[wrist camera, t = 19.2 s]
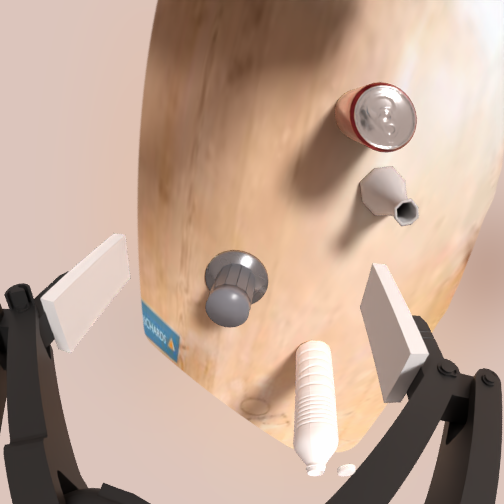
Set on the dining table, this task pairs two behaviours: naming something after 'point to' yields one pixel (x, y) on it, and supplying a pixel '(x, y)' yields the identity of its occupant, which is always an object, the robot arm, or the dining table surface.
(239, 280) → the grey domed cylinder
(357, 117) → the soda can
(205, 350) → the dining table surface
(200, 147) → the dining table surface
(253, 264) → the round base
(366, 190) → the flask
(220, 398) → the dining table surface
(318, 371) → the water bottle
